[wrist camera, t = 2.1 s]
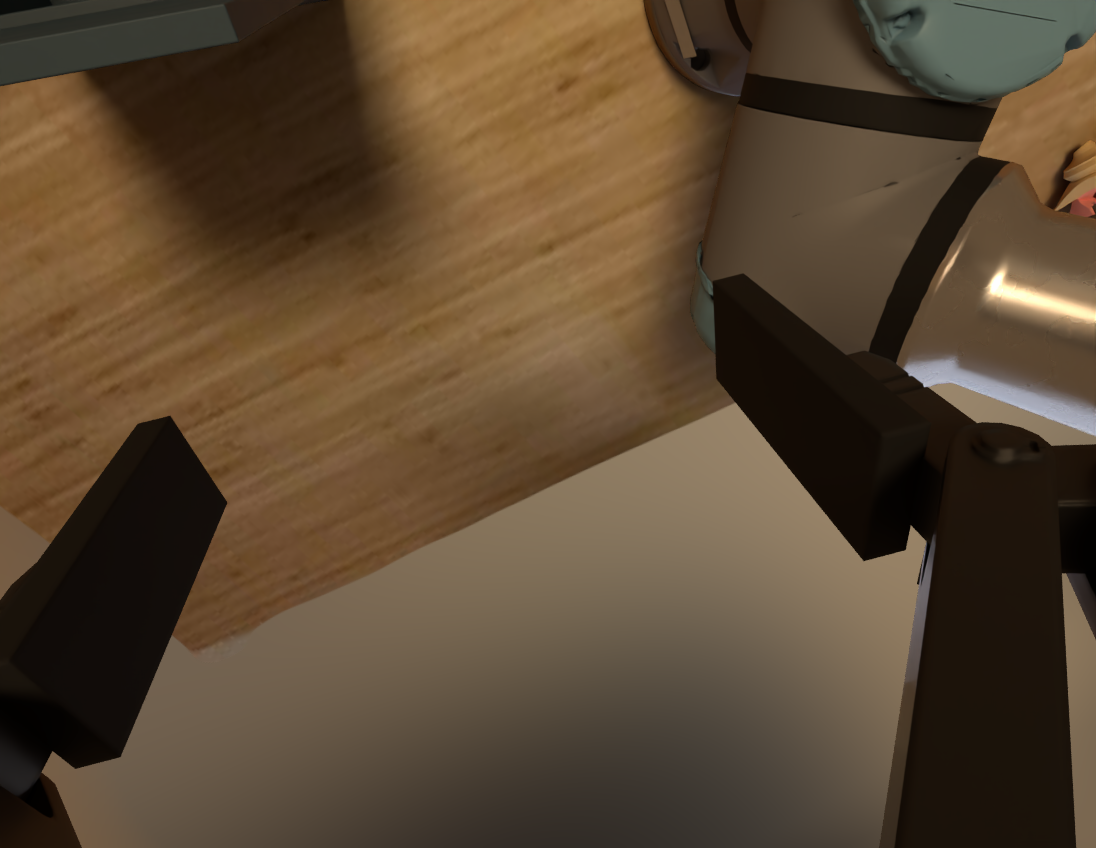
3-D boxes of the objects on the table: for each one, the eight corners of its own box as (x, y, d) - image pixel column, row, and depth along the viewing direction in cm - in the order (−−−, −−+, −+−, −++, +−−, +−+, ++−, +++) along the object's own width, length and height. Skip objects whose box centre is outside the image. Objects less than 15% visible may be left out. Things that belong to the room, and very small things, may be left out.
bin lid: (-543, 141, 14) (-499, 178, 14) (224, 3, 14) (239, 42, 15) (-111, 48, 25) (-96, 71, 25) (302, -25, 26) (309, -2, 26)
